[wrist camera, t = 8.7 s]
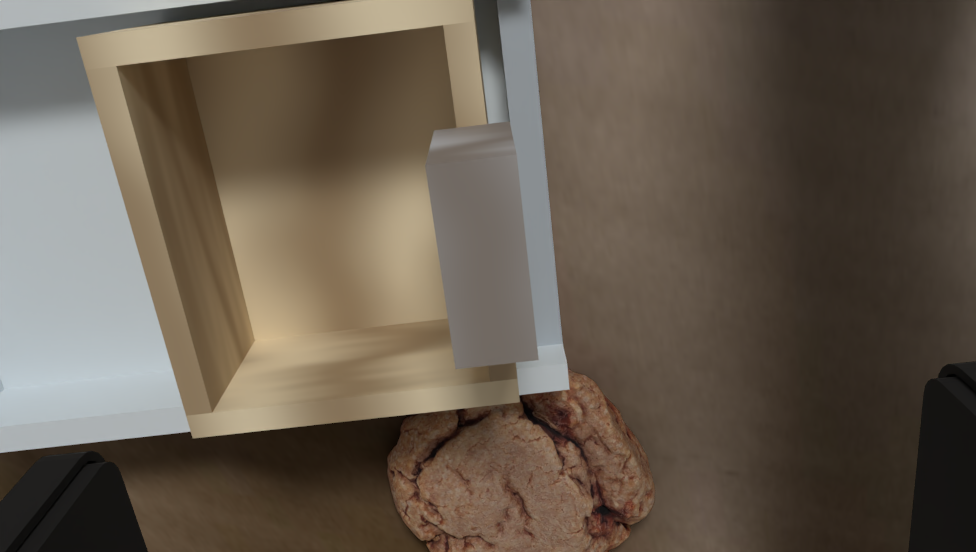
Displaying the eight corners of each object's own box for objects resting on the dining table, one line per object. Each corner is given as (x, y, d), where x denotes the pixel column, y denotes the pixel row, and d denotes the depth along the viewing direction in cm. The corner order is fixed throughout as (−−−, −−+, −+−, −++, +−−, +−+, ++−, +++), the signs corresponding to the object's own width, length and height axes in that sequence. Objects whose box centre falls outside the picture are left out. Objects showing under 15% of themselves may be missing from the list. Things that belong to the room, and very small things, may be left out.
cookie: (375, 370, 32) (365, 409, 29) (643, 346, 32) (659, 383, 29) (407, 571, 35) (401, 624, 33) (648, 551, 35) (663, 601, 32)
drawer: (490, -20, 25) (498, -12, 16) (528, 320, 30) (551, 479, 20) (160, 22, 26) (-15, 53, 17) (244, 353, 30) (141, 523, 21)
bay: (518, -71, 26) (533, -83, 19) (558, 338, 31) (580, 437, 25) (-147, 15, 27) (-350, 31, 20) (2, 401, 32) (-121, 514, 25)
